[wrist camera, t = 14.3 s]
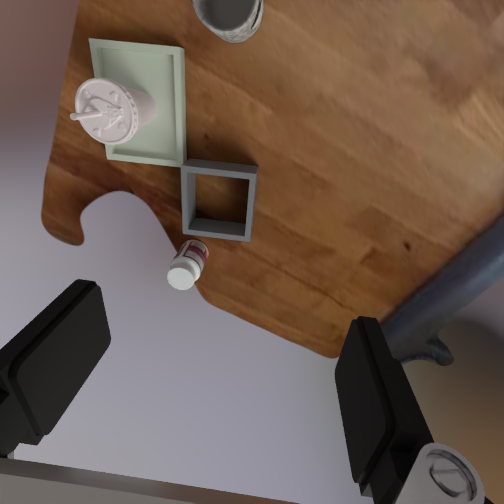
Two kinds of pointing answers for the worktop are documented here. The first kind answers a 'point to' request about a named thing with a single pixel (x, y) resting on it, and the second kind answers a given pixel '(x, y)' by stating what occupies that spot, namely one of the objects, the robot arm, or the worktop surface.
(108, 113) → the smoothie
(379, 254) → the worktop surface
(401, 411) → the robot arm
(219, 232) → the grey square tube frame
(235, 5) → the mug
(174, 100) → the tray
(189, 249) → the pill bottle
